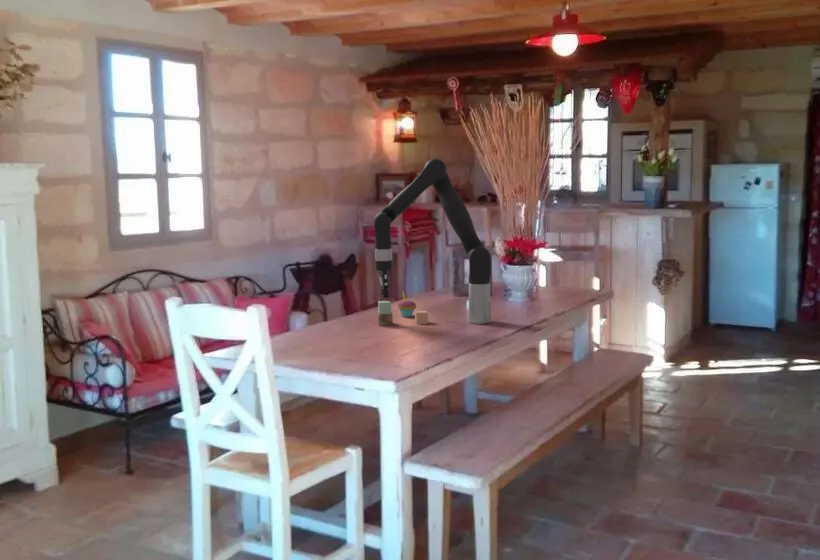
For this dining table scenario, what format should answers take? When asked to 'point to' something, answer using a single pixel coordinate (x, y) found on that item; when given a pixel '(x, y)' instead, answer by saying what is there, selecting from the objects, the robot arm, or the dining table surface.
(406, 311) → the cupcake
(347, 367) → the dining table surface
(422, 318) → the tan block
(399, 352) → the dining table surface
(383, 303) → the sage block
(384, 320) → the walnut base
